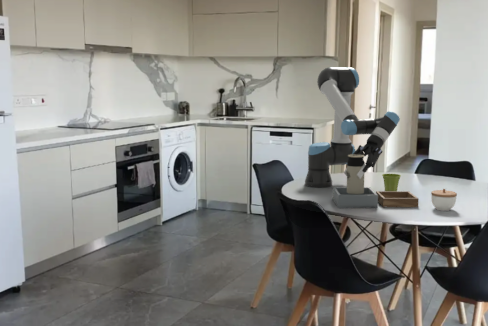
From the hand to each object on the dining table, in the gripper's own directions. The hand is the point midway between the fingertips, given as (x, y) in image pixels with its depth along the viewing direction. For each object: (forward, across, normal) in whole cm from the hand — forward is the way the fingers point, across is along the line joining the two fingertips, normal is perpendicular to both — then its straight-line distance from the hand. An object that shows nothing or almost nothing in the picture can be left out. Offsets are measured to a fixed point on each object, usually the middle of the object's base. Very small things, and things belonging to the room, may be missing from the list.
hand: (351, 175), depth 250 cm
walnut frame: (-4, -10, -24) cm, 26 cm away
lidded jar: (-10, -30, -30) cm, 43 cm away
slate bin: (+8, 0, -11) cm, 14 cm away
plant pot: (-17, +10, -37) cm, 42 cm away
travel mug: (+5, 0, -8) cm, 9 cm away
